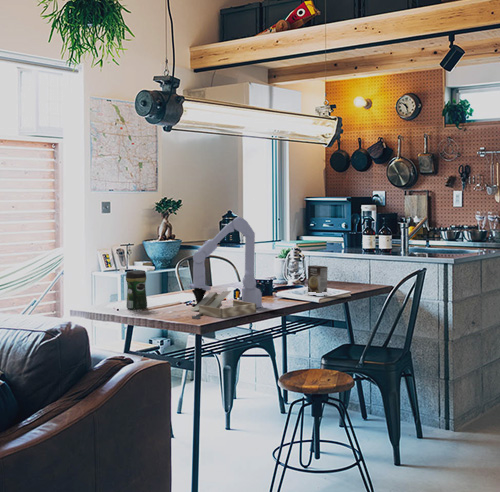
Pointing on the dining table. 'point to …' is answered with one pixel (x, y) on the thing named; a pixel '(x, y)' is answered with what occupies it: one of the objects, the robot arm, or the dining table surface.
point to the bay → (229, 309)
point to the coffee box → (317, 279)
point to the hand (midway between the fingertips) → (199, 304)
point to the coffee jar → (136, 289)
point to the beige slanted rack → (212, 300)
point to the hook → (197, 316)
